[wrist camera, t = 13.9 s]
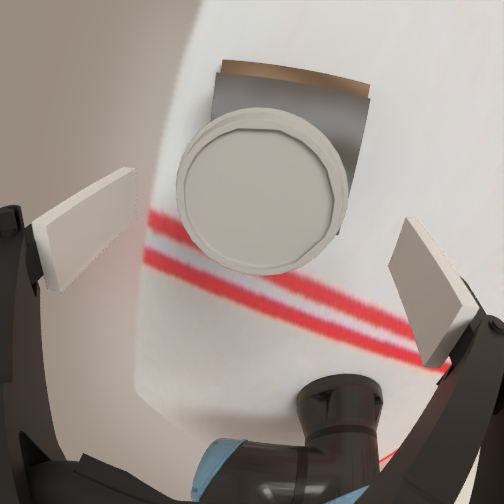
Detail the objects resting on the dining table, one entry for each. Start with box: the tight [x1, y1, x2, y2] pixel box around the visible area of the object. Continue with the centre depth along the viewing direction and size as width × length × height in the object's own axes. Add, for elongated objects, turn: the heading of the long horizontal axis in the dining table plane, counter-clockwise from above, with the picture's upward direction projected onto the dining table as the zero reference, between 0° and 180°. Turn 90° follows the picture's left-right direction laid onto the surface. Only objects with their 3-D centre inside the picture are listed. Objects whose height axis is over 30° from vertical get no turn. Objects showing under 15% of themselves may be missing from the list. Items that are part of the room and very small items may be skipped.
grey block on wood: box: [211, 60, 370, 235], centre depth 28 cm, size 16×14×5 cm
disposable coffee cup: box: [176, 108, 348, 276], centre depth 21 cm, size 10×10×12 cm
